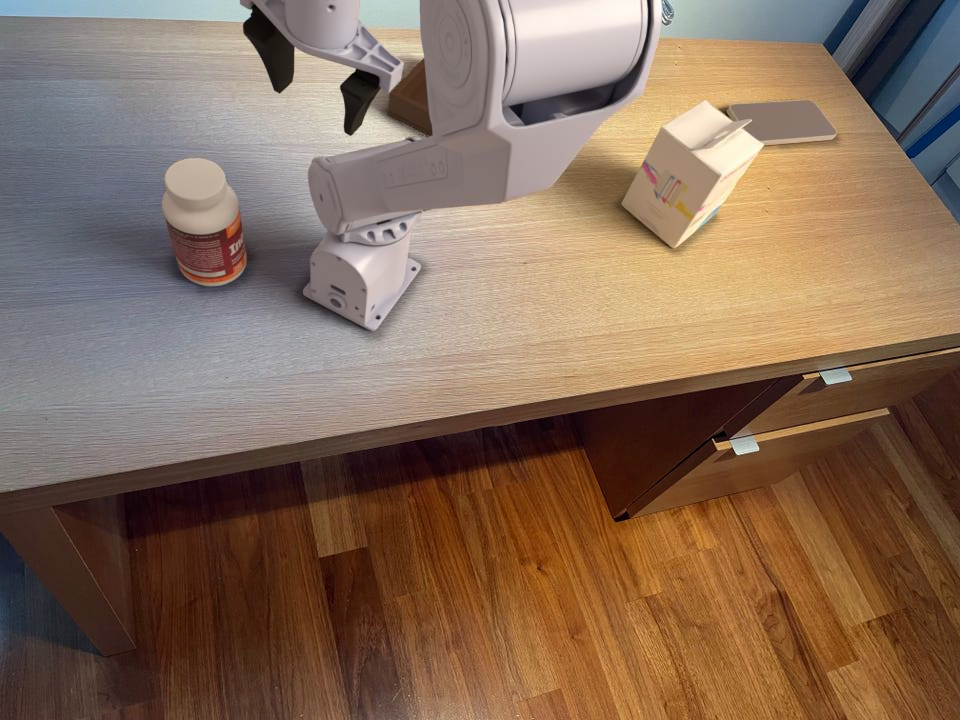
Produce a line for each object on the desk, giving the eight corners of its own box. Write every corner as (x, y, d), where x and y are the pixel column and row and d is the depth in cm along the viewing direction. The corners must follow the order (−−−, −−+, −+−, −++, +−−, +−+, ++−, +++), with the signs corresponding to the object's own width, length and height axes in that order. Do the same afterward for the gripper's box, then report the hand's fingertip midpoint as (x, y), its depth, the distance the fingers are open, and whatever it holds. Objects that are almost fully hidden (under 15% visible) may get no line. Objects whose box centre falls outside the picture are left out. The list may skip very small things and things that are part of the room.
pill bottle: (249, 286, 64) (236, 205, 55) (179, 291, 63) (153, 208, 53) (245, 235, 67) (232, 150, 58) (178, 239, 65) (153, 151, 56)
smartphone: (840, 135, 94) (753, 142, 89) (836, 140, 94) (749, 147, 90) (812, 98, 97) (726, 103, 92) (808, 104, 98) (723, 109, 93)
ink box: (660, 175, 84) (712, 82, 72) (713, 218, 81) (775, 129, 70) (618, 205, 80) (666, 111, 68) (673, 251, 77) (732, 162, 66)
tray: (481, 161, 79) (487, 141, 76) (387, 114, 80) (389, 93, 77) (521, 108, 85) (527, 88, 83) (433, 65, 86) (436, 44, 84)
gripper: (431, -4, 53) (406, 121, 65) (273, -98, 53) (277, 44, 65) (384, 43, 50) (367, 166, 62) (216, -57, 50) (231, 85, 62)
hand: (318, 107), depth 63 cm, fingers open, 7 cm apart
